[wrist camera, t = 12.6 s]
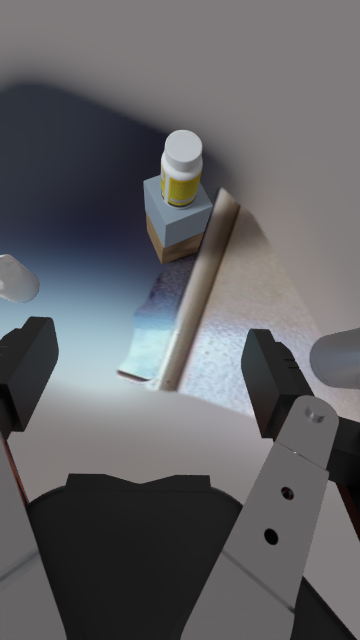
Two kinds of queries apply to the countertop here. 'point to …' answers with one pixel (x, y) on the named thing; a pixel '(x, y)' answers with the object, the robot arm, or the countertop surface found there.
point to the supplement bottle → (181, 169)
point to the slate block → (175, 214)
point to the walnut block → (176, 249)
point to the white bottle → (16, 281)
